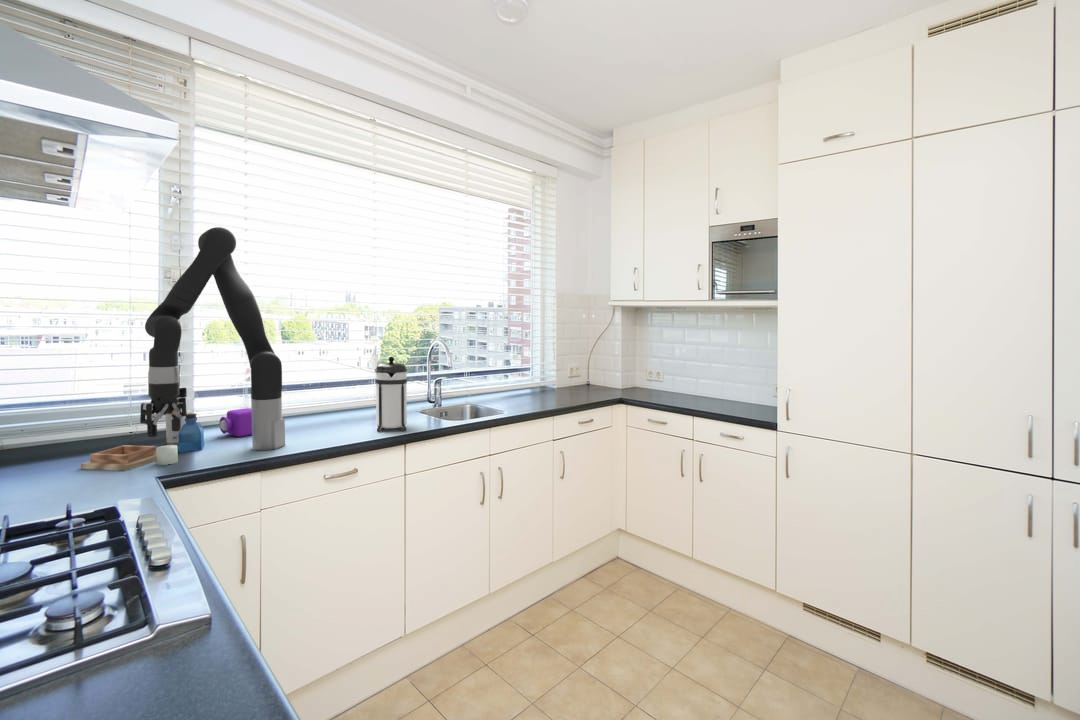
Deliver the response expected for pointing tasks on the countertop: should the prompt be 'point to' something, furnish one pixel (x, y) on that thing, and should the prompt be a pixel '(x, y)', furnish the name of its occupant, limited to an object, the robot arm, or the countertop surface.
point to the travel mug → (171, 435)
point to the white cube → (167, 454)
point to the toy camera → (237, 422)
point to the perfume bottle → (191, 435)
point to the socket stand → (121, 458)
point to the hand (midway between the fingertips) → (164, 433)
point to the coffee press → (391, 395)
